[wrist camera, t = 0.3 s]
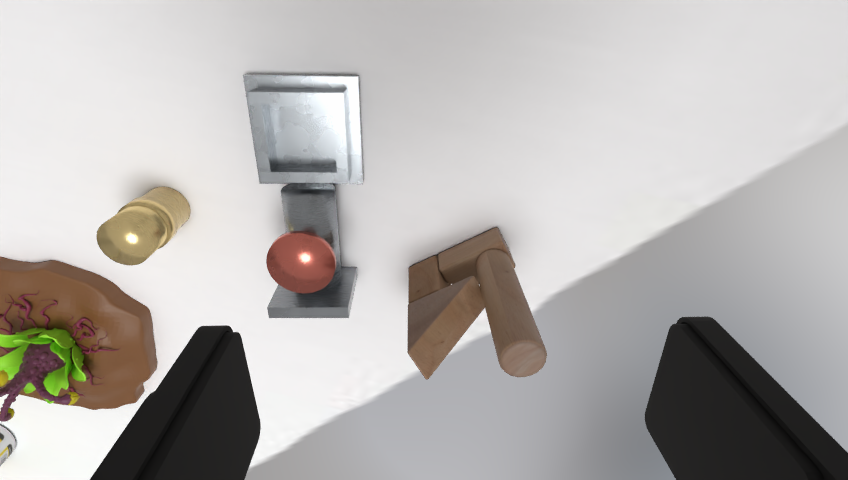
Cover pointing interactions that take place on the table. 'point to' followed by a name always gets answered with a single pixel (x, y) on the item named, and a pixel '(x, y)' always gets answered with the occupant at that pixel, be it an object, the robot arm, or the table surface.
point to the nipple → (143, 226)
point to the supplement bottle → (6, 444)
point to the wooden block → (471, 306)
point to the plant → (71, 337)
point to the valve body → (307, 184)
